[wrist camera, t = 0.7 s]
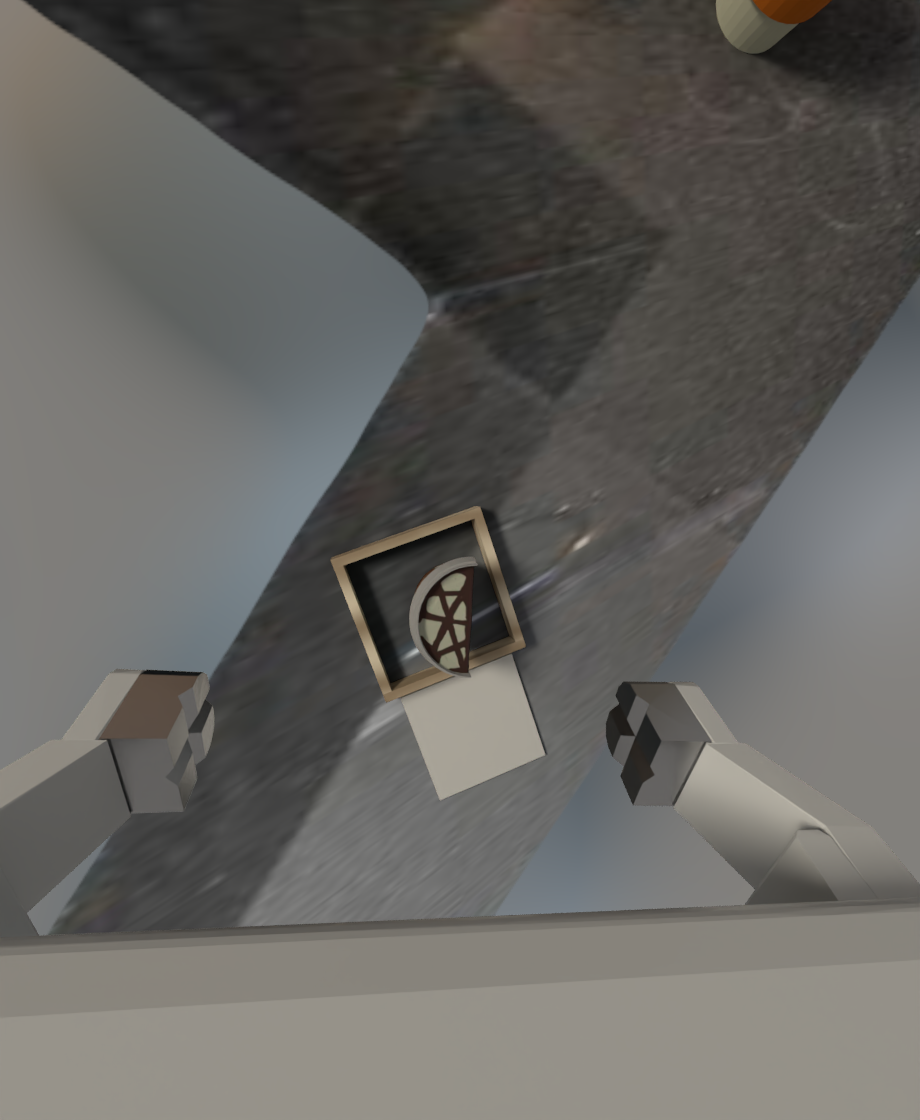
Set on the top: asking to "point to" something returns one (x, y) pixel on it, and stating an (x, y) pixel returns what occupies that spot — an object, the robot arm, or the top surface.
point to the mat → (473, 726)
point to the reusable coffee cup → (762, 20)
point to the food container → (445, 616)
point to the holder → (475, 656)
